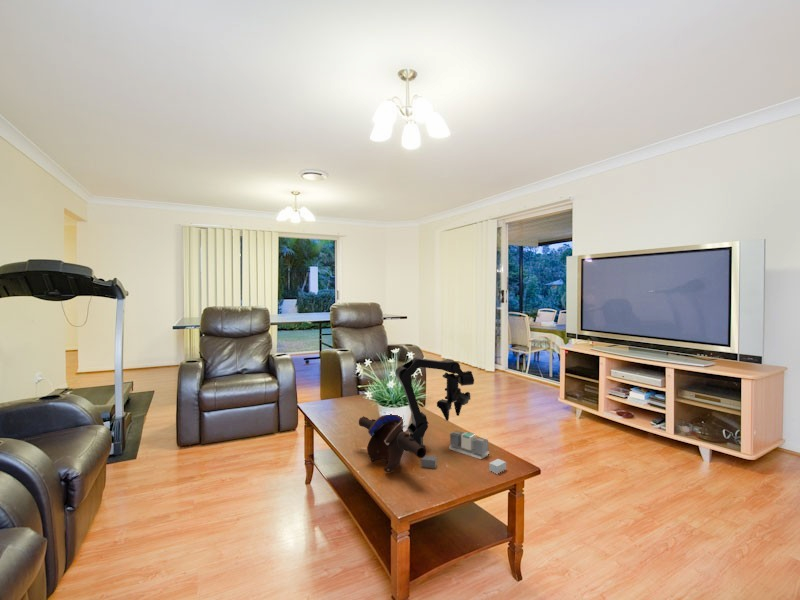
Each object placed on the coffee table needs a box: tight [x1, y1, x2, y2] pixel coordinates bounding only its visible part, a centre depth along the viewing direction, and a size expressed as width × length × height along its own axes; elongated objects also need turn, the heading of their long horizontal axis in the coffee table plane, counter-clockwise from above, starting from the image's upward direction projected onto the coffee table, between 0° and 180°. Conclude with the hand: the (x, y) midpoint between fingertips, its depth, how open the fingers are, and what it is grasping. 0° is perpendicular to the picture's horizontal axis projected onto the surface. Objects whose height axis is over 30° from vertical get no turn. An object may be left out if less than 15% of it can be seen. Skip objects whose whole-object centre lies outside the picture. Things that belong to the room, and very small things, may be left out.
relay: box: [420, 455, 438, 469], centre depth 162 cm, size 4×6×4 cm, turn 77°
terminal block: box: [488, 458, 507, 475], centre depth 158 cm, size 6×4×4 cm, turn 129°
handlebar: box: [358, 414, 427, 473], centre depth 163 cm, size 45×13×20 cm, turn 37°
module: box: [461, 431, 477, 450], centre depth 176 cm, size 5×5×6 cm
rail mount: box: [448, 430, 490, 460], centre depth 176 cm, size 7×17×7 cm, turn 49°
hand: (452, 418), depth 186 cm, fingers open, 9 cm apart
